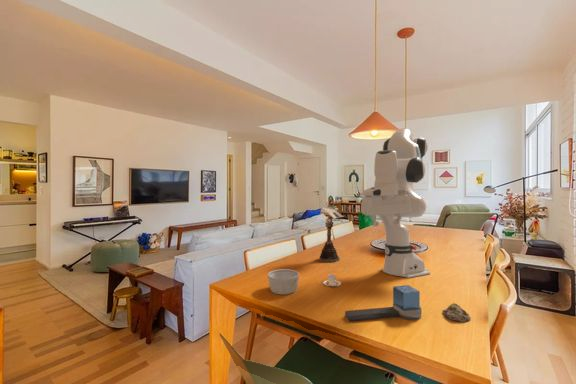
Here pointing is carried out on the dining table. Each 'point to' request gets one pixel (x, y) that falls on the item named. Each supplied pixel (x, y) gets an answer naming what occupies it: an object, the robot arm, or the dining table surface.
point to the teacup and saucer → (332, 281)
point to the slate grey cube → (406, 297)
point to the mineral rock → (456, 313)
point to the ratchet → (382, 314)
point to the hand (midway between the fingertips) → (386, 225)
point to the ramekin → (283, 281)
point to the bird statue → (329, 250)
